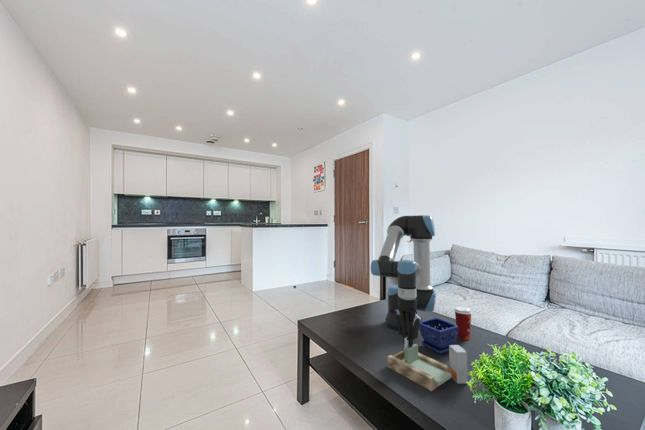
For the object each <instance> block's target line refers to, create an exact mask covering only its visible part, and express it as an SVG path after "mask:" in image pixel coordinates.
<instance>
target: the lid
mask: <svg viewBox="0 0 645 430" xmlns="http://www.w3.org/2000/svg"><path fill="white" fill-rule="evenodd" d="M404 348H405V347H404ZM404 348H403V350H404V351H405V359H404V360H402V361H404V362H406V363H408V364H410V365H412V366H414V367H416V368H418V369H420V370H422V371H424V372H426V373H428V374H430V375H432V376H434V383H435V384H437V385H439V386H438V387H440V386H441V385H443V384H444V383H445V382H447V381H448V380H450V379H452V374H450V373H448V372H446V371H444V370H442V369H440V368H438V367H436V366H433V365H431V364H429V363H427V362H425V361H423V360H421V359H419V358H418V353H419V344H417V343H413V346H412V347H407V348H405V349H404Z"/></svg>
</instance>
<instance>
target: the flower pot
mask: <svg viewBox="0 0 645 430" xmlns="http://www.w3.org/2000/svg"><path fill="white" fill-rule="evenodd" d="M419 333H420V335H421V337H422V339H423V340H421V342H420V343H421V344H422V345H423V346H424V347H425V348H427V349H428V350H430V351H432V352H434V353H436V354H438V355H442V354H444V353H449V345H455V342H456V340H457V338H458V337H457V334H458V326H457V325H456V323H452V322H450V321H447V320H445V319H441V318H439V317H433V318H429V319H425V320H422V321H421V322H420V326H419Z"/></svg>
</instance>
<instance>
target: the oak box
mask: <svg viewBox="0 0 645 430" xmlns="http://www.w3.org/2000/svg"><path fill="white" fill-rule="evenodd" d="M404 349H405V347H404V348H403V350H400V351H399V352H397V353H394V354H393V355H392V354H389V355H387V367H388V369H390V370H392V371H395V373H398V374H400V375H402V376H404V377H405V378H406V379H409V380H410V381H412V382H415V383H416V384H417V385H419V386H421V387H423V388H425V389H427V390H429V391H430V392H432V391H434V390H435V389H437V388H438V387H440V386H439V385H437V384H435V383H434V376H432V375H430V374H428V373H426V372H424V371H422V370H420V369H418V368H416V367H414V366H412V365H410V364H408V363H406V362H404V361H402V360H404V359H405V351H404ZM418 358H419V359H421V360H423V361H425V362H427V363H429V364H431V365H433V366H436V367H438V368H440V369H442V370H444V371H446V372H448V373H450V365H447V364H445V363H443V362H440V361H439V360H437V359H434V358H431V357H429V356H427V355H424V354H423V353H421V352H418Z"/></svg>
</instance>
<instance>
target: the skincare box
mask: <svg viewBox="0 0 645 430" xmlns="http://www.w3.org/2000/svg"><path fill="white" fill-rule="evenodd" d="M448 354H449V356H448V357H449V359H448V360H449V361H448V362H449V365H448V366H450V374H452V377H451V379H453V380H454V381H455V383H456V384H458V385H459V384H467V383H466V382H467V381H469V380H468V379H469V378H468V377H469V376H468V352H467V351H466V349H465V348H463V347H462V346H460V345H459V344H454V345H449V351H448Z"/></svg>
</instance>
